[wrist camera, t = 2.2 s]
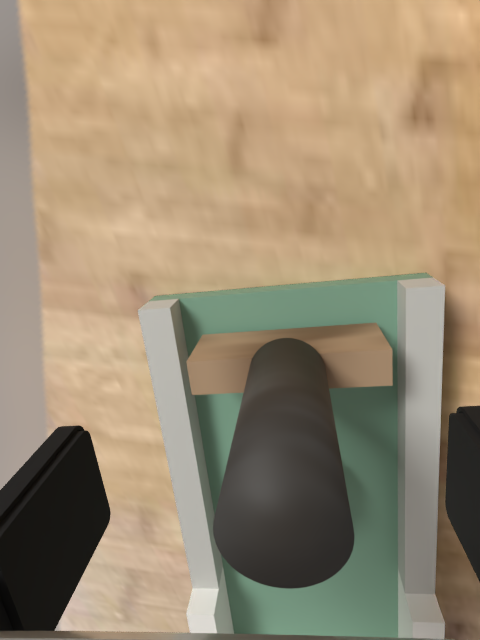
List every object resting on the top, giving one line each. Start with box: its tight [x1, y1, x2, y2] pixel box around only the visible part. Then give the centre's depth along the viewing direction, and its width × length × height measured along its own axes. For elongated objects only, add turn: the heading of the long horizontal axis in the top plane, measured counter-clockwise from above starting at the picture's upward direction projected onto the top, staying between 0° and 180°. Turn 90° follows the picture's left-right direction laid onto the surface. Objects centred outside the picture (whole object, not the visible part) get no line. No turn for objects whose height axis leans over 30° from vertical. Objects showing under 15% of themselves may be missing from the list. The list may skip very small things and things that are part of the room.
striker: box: [186, 323, 393, 589], centre depth 14 cm, size 8×3×11 cm, turn 96°
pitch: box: [138, 273, 445, 639], centre depth 22 cm, size 13×24×4 cm, turn 6°
